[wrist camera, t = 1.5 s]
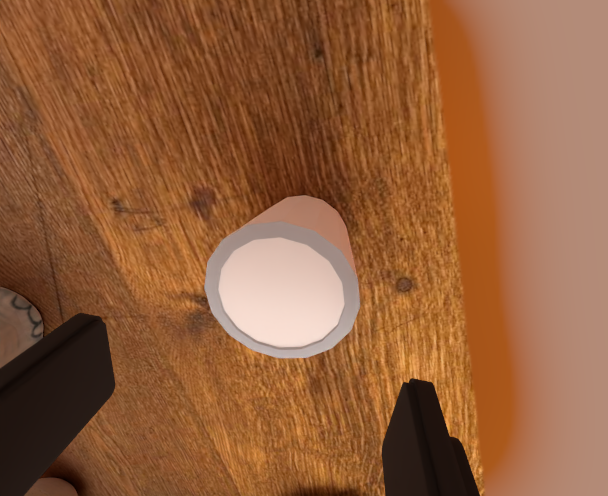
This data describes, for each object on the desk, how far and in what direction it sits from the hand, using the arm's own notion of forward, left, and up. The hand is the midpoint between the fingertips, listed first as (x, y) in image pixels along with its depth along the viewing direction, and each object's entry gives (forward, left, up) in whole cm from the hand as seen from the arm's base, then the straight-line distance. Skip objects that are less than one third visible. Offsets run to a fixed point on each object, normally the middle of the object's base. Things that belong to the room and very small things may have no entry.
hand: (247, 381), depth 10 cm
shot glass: (0, 0, -11) cm, 11 cm away
